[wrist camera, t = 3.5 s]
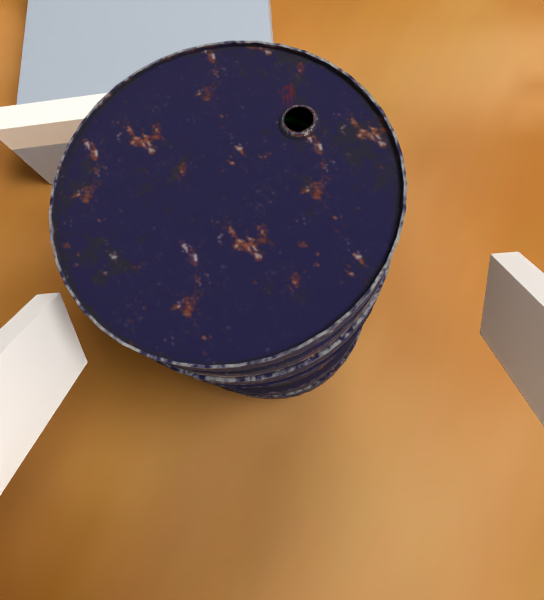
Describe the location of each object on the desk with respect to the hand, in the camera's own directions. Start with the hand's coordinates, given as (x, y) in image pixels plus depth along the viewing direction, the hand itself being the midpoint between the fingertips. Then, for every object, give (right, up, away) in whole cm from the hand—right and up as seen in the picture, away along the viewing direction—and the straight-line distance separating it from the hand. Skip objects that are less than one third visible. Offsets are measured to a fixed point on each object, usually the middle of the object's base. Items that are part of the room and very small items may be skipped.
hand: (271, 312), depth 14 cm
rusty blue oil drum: (0, -1, +13) cm, 13 cm away
